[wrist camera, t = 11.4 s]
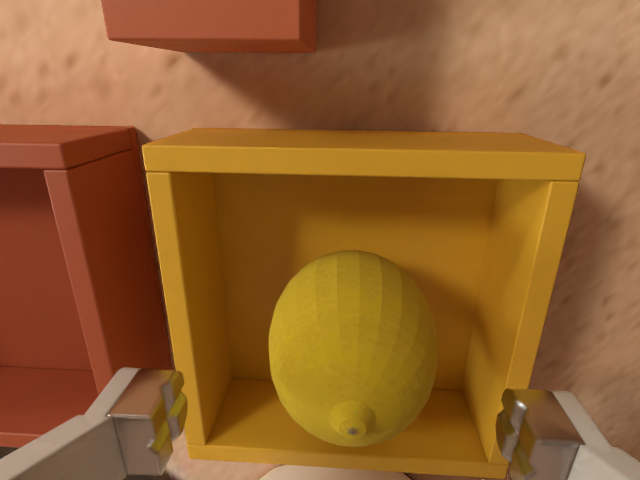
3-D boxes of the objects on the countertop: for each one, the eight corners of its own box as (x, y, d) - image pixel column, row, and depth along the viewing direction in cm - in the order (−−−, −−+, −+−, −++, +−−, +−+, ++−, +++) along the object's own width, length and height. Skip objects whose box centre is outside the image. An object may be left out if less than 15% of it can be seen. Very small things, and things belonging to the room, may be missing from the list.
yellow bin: (194, 127, 16) (139, 144, 12) (522, 132, 15) (587, 153, 11) (220, 382, 21) (188, 459, 16) (472, 396, 20) (505, 480, 16)
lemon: (276, 319, 18) (226, 480, 11) (303, 206, 16) (265, 311, 9) (393, 348, 19) (422, 527, 11) (435, 240, 16) (505, 371, 9)
